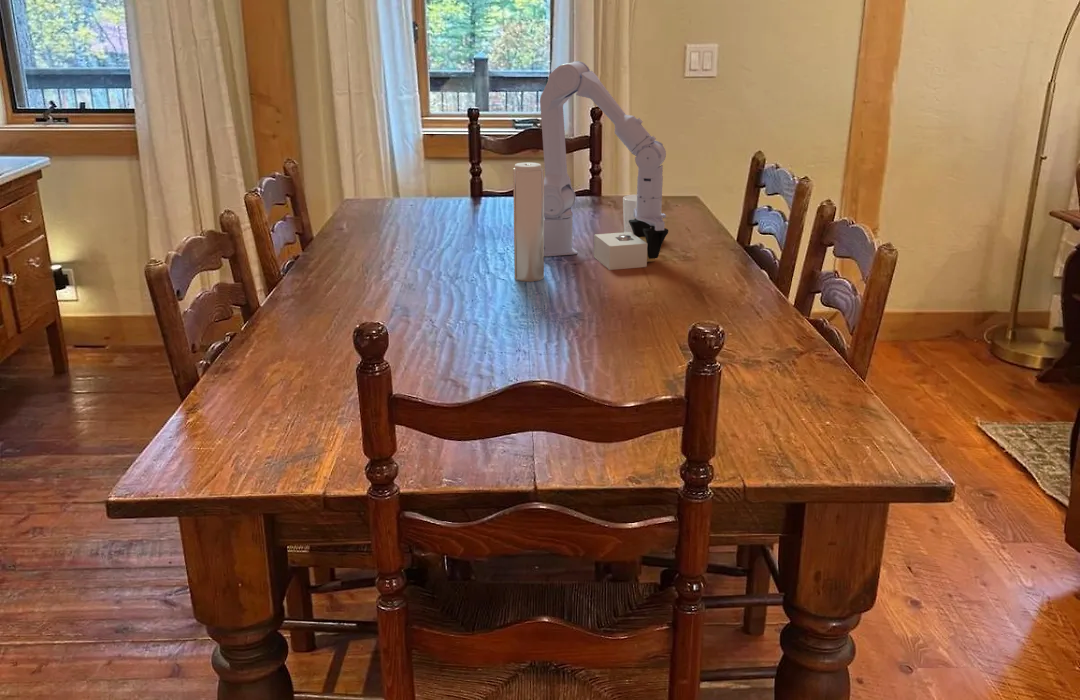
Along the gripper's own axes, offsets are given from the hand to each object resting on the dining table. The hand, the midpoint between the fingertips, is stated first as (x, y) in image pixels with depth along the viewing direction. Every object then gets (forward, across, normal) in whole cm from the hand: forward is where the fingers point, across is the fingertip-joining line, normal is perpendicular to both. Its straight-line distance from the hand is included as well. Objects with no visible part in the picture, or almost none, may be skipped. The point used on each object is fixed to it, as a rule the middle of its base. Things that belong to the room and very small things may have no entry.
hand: (647, 253), depth 220 cm
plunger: (-3, 0, +6) cm, 6 cm away
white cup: (+2, +22, -6) cm, 22 cm away
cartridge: (+1, 0, +4) cm, 4 cm away
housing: (+1, 0, +7) cm, 7 cm away
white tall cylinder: (+2, -6, +30) cm, 31 cm away
